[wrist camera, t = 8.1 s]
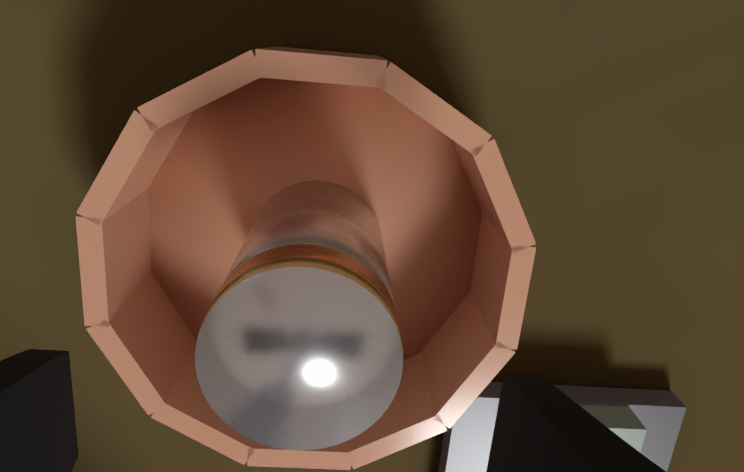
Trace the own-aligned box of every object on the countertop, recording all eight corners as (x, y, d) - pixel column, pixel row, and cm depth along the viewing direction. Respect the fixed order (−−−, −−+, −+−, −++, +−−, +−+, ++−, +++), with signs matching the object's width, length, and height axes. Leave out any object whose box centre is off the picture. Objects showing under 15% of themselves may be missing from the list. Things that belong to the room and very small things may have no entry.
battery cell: (253, 302, 18) (200, 451, 12) (248, 178, 17) (186, 265, 10) (380, 304, 19) (399, 450, 12) (385, 181, 17) (409, 269, 11)
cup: (143, 379, 20) (96, 459, 16) (127, 33, 16) (60, 31, 12) (466, 394, 20) (493, 475, 17) (518, 67, 17) (568, 76, 13)
